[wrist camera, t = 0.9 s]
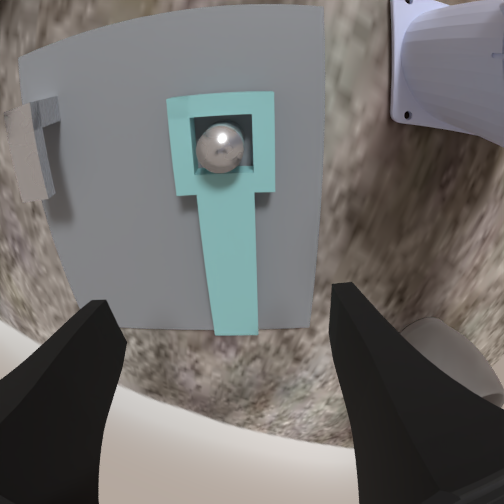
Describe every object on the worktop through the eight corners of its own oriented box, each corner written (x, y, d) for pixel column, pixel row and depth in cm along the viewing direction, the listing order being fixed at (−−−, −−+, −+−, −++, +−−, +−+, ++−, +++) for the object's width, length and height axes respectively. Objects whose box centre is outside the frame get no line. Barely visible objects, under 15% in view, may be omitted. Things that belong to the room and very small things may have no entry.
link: (172, 97, 14) (166, 99, 13) (272, 90, 14) (274, 92, 13) (202, 322, 21) (200, 335, 20) (272, 321, 21) (273, 334, 20)
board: (318, 11, 12) (323, 6, 11) (307, 315, 23) (309, 327, 22) (29, 57, 13) (18, 57, 12) (92, 315, 23) (87, 325, 22)
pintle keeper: (242, 65, 14) (239, 62, 11) (246, 159, 17) (244, 182, 14) (43, 100, 14) (3, 112, 11) (56, 178, 17) (22, 202, 14)
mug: (355, 350, 25) (381, 450, 17) (436, 284, 22) (493, 379, 13) (417, 386, 29) (442, 460, 21) (480, 337, 26) (519, 409, 17)
